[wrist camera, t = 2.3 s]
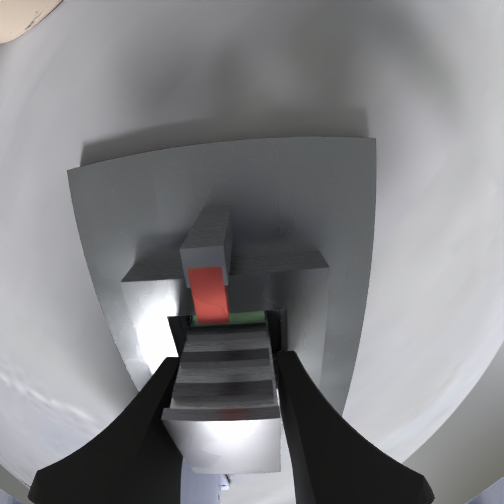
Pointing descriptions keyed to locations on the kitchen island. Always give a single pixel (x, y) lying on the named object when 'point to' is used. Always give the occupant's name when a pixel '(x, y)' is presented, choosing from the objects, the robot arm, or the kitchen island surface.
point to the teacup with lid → (22, 16)
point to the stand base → (234, 246)
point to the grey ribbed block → (227, 398)
